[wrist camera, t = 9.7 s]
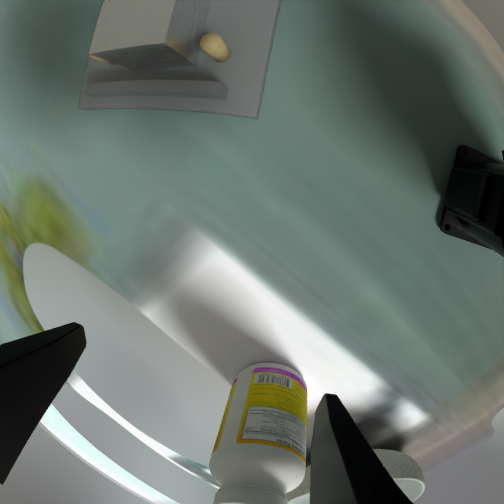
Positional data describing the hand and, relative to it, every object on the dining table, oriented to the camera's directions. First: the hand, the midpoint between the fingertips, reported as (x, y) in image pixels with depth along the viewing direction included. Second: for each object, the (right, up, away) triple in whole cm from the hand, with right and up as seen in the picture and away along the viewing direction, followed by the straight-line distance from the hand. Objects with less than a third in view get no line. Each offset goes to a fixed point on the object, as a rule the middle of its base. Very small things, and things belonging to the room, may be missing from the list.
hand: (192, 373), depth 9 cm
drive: (-3, +21, +5) cm, 22 cm away
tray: (-3, +21, +6) cm, 22 cm away
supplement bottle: (+4, -8, +15) cm, 18 cm away
